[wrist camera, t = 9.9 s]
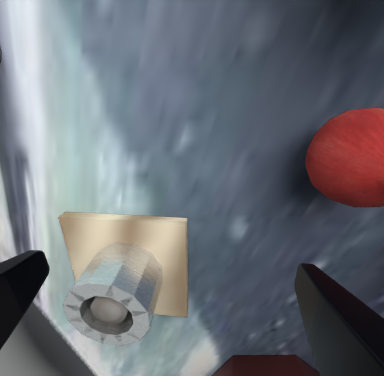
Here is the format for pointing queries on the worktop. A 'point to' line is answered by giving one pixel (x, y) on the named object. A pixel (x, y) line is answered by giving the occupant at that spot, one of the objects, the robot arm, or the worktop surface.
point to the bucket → (266, 366)
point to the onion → (349, 158)
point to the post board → (140, 235)
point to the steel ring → (116, 293)
